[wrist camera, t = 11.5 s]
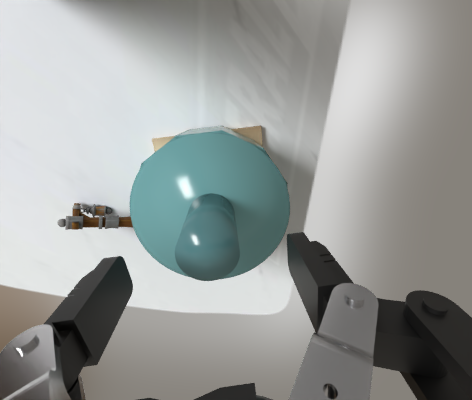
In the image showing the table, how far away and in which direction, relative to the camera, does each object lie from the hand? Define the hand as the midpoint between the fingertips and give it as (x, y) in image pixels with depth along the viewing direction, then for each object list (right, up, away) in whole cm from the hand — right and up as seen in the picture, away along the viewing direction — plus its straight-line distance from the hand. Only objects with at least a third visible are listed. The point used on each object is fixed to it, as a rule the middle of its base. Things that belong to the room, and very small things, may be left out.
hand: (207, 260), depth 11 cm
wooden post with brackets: (-12, +2, +14) cm, 18 cm away
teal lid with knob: (-1, +5, +13) cm, 13 cm away
